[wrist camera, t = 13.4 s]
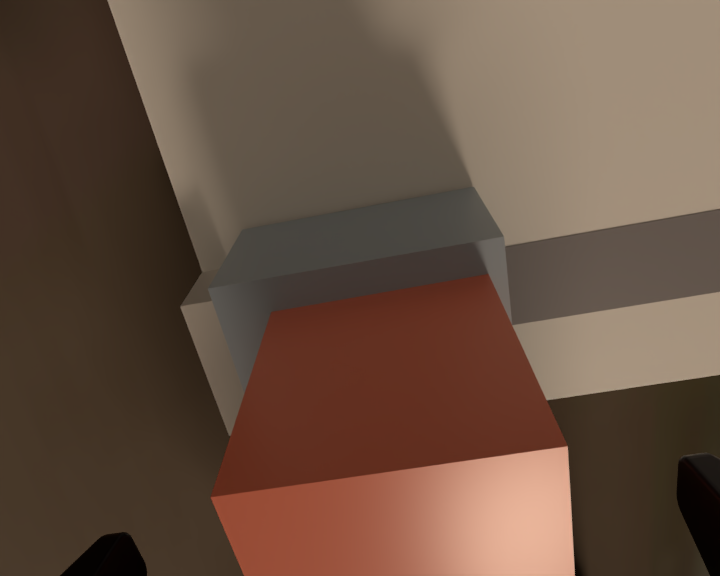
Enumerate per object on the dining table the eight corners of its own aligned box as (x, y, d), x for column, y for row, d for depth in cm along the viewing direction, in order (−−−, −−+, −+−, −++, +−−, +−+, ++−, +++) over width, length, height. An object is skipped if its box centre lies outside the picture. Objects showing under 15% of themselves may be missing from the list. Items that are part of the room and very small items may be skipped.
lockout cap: (488, 273, 11) (567, 445, 7) (508, 446, 13) (580, 669, 9) (271, 311, 12) (210, 497, 7) (320, 473, 14) (296, 699, 9)
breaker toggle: (474, 186, 14) (503, 236, 11) (496, 382, 17) (525, 468, 14) (242, 229, 15) (207, 288, 12) (298, 412, 17) (282, 501, 14)
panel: (978, -342, 11) (1185, -462, 8) (843, 334, 17) (932, 394, 14) (85, -115, 12) (7, -150, 10) (266, 421, 19) (249, 489, 16)
